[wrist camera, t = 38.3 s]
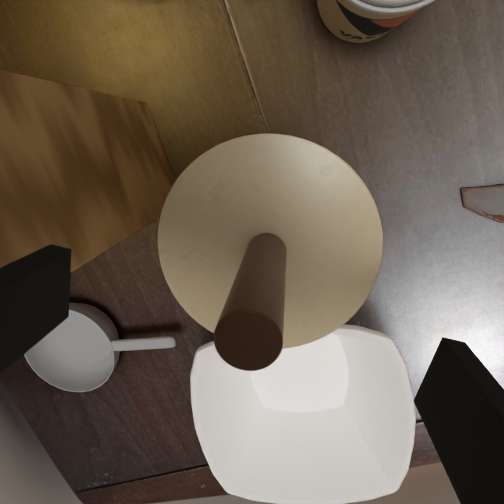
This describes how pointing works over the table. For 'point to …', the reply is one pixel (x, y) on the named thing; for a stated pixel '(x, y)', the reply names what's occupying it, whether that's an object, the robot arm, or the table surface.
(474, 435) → the robot arm
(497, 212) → the kitchen knife
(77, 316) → the small pan
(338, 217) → the lid
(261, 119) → the table surface
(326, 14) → the coffee cup
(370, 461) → the bowl
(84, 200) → the stand
